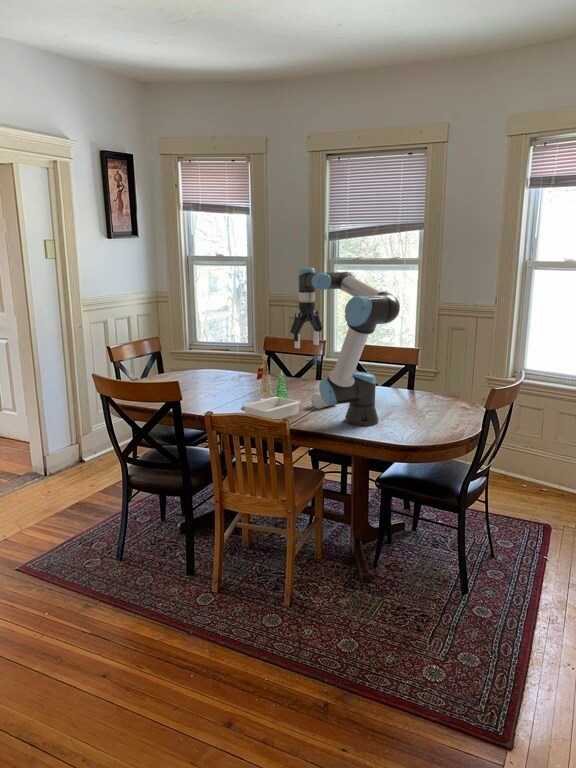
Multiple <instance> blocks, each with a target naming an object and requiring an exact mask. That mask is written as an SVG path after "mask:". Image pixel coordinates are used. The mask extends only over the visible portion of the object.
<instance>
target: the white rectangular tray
mask: <svg viewBox="0 0 576 768" xmlns="http://www.w3.org/2000/svg"><path fill="white" fill-rule="evenodd" d="M302 403H303V402H302V401H298V400H295V399H289V398H285V397H279V396H273V397H269V398H265V399H261V400H258V401H254V402H253V401H252V402H249V403H246V404H245V403H244V404H241V406H242V407H245V411H244V414H245V413H248V414H254V415H258V416H262V417H268V418H272V419H279V420H281V419H285V418H289V417H291V416H295V415H299V414H300V410H299V409H300V408H299V404H302Z"/></svg>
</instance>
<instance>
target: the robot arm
mask: <svg viewBox="0 0 576 768" xmlns="http://www.w3.org/2000/svg"><path fill="white" fill-rule="evenodd" d="M297 277H298V301H299V302H298V310H299V312H295V313H294V320H293V322H292V326H291V327H290V328H291V329H290V333H291V334H292V335H293V341H294V349H301V334H300V331H301V330H302V328H303V326H304V324H306V323H307V322H309V323H310V325H311V326H312V328H313V330H314V331H313V345H315V346H319V345H320V332H321V331H322V330H323V326H322V321H321V320H320V316H319V311H318V310H315V308H316V302H315V300H316V291H315V290H318V291H326V290H341V291H343V292H344V293H346V294H348V295H349V296H352V297H351V298H350V299H349V300H348V301H347V303H346V305H345V308H344V318H345V319H344V320H345V322H346V325H347V328H348V329H347V332H346V334H345V337H344V340H343V343H342V346H341V349H340V352H339V354H338V358H337V360H336V363H335V366H334V369H332V370H331V371H330V372H328V375H327V378H323V379H322V380H321V381H320V382H319V383H318V384H319V386H318V388H319V389H318V390H319V391H320V396H321V398H322V400H323V401H324V403H325V404H327V405H331V406H337V405H343V404H349V405H348V409H347V412H346V415H345V416H344V421H345V423H346V424H348V425H351V426H355V427H374V426H376V425H378V424H379V415H378V413H377V408H376V388H377V383H376V382H377V379H376V375H374V374H372V373H368V372H364V371H356V370H357V366H358V364H359V361H360V358H361V356H362V353H363V350H364V347H365V346H366V343H367V340H368V339H369V338H368V337H369V335H371V334H373V333H374V332H375V330H376V327H377V326H378V325H384V324H389V323H391V322H393V321H394V320H396V318H397V317H398V316H399V313H400V310H401V306H400V301H399V300H398V298H397V297H396V296H395V295H394V294H392V293H390V292H388V291H384V290H383V291H381V290H379V289H377V288H375V287H373V286H371V285H368V284H367V283H365V282H363V281H361V280H359V279H358V278H356V276H355V275H354V273H353V272H349V271H339V272H338V271H335V272H316V269H315V268H314V267H301V268H299V270H298V276H297ZM319 391H318V392H319Z"/></svg>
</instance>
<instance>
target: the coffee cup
mask: <svg viewBox="0 0 576 768" xmlns="http://www.w3.org/2000/svg"><path fill="white" fill-rule="evenodd" d="M310 401H311V404H312V406H313V407H314V408H315V409H323V408H326V407H331V406H332V405H327V404H325V403H324V401H323V400H322V398H321V396H320V391H318V392H316V393H314V394H313V395H311V400H310Z"/></svg>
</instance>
